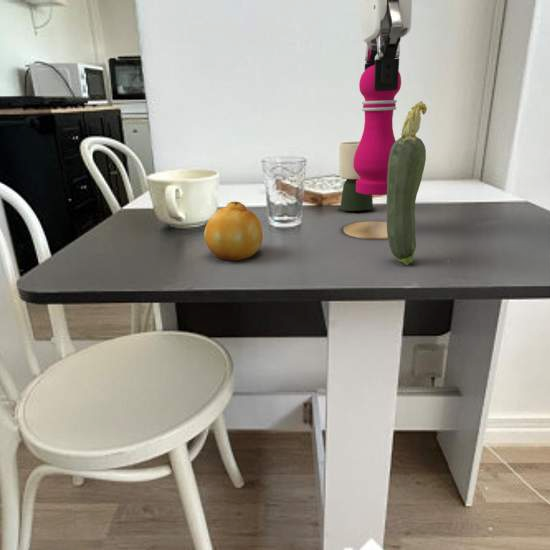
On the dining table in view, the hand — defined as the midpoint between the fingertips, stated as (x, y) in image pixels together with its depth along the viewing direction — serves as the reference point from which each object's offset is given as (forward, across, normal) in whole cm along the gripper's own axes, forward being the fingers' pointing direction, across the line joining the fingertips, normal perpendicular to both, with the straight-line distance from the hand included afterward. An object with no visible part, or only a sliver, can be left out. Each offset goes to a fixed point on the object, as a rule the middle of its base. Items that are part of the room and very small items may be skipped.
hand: (379, 90), depth 65 cm
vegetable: (+22, -15, 0) cm, 27 cm away
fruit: (+22, -9, +22) cm, 33 cm away
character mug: (+22, +15, 0) cm, 27 cm away
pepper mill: (+15, 0, 0) cm, 15 cm away
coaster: (+22, 0, 0) cm, 22 cm away
